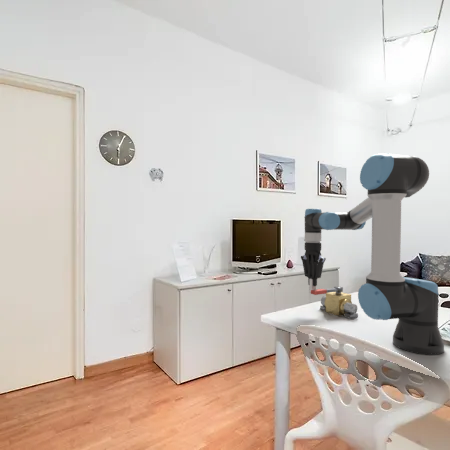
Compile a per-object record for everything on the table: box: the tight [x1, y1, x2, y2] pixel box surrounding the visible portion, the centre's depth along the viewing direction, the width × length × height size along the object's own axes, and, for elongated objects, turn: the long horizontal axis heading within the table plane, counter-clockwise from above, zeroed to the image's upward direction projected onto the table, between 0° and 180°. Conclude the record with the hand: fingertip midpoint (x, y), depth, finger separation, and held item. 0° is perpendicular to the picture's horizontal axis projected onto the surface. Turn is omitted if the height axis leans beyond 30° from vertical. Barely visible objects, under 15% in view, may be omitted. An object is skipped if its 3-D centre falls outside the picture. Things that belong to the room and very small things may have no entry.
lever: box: [310, 286, 344, 296], centre depth 151 cm, size 18×4×2 cm, turn 119°
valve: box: [320, 291, 359, 319], centre depth 154 cm, size 8×18×10 cm, turn 29°
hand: (312, 292), depth 152 cm, fingers closed
